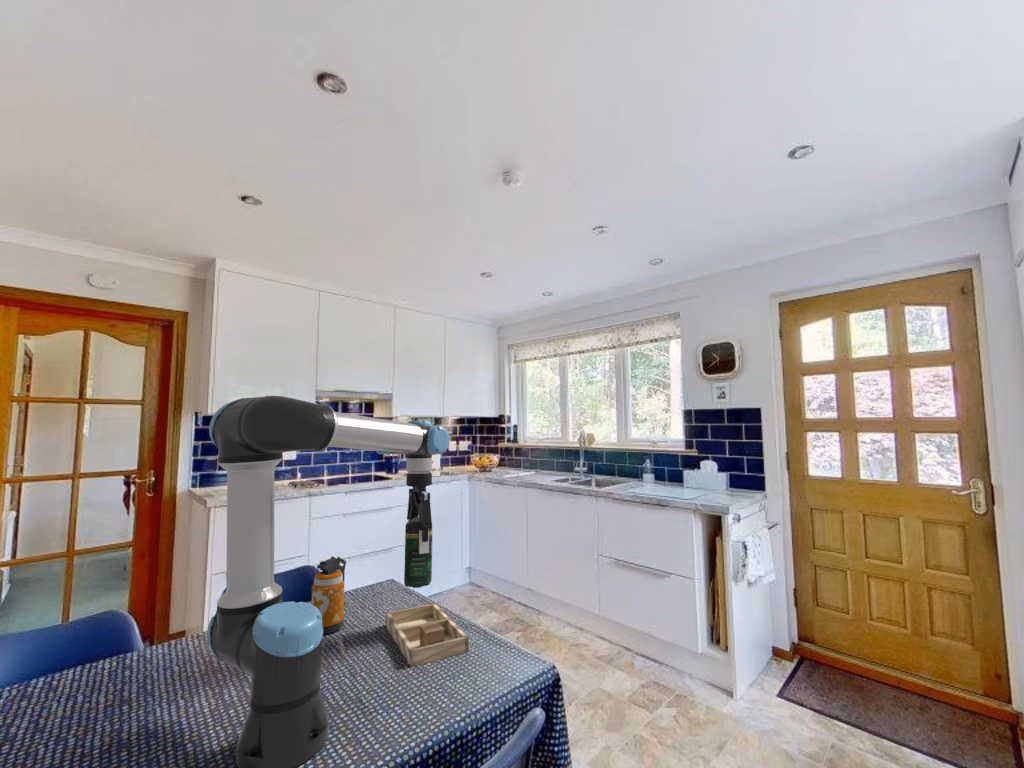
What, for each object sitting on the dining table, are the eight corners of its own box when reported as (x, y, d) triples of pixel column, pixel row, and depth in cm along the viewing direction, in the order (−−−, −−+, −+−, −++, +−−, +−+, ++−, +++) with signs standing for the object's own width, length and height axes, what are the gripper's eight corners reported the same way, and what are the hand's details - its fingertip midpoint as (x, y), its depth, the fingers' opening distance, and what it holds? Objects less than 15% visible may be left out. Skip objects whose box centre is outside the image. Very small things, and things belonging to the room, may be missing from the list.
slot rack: (468, 655, 113) (468, 637, 114) (410, 670, 106) (411, 651, 107) (434, 617, 137) (434, 603, 137) (385, 628, 130) (386, 612, 130)
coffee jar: (431, 588, 125) (431, 520, 127) (402, 589, 124) (403, 521, 126) (432, 577, 134) (433, 514, 136) (406, 578, 133) (406, 515, 135)
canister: (303, 633, 127) (305, 561, 129) (329, 618, 137) (331, 552, 140) (329, 637, 124) (331, 563, 127) (354, 621, 135) (355, 553, 137)
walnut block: (444, 649, 115) (444, 628, 116) (425, 653, 113) (425, 633, 113) (437, 641, 119) (437, 621, 120) (419, 645, 117) (419, 625, 118)
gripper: (443, 474, 125) (443, 556, 122) (420, 469, 144) (419, 539, 142) (417, 475, 121) (417, 560, 118) (397, 470, 141) (396, 542, 138)
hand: (418, 549), depth 130 cm, fingers closed on coffee jar, 10 cm apart
